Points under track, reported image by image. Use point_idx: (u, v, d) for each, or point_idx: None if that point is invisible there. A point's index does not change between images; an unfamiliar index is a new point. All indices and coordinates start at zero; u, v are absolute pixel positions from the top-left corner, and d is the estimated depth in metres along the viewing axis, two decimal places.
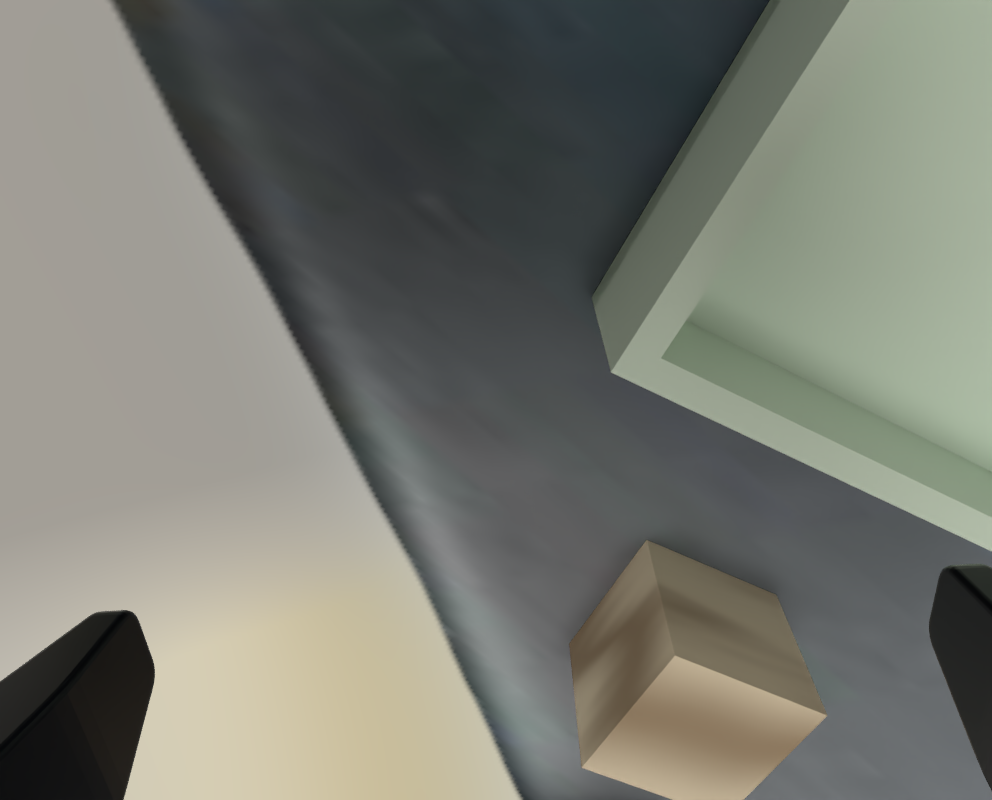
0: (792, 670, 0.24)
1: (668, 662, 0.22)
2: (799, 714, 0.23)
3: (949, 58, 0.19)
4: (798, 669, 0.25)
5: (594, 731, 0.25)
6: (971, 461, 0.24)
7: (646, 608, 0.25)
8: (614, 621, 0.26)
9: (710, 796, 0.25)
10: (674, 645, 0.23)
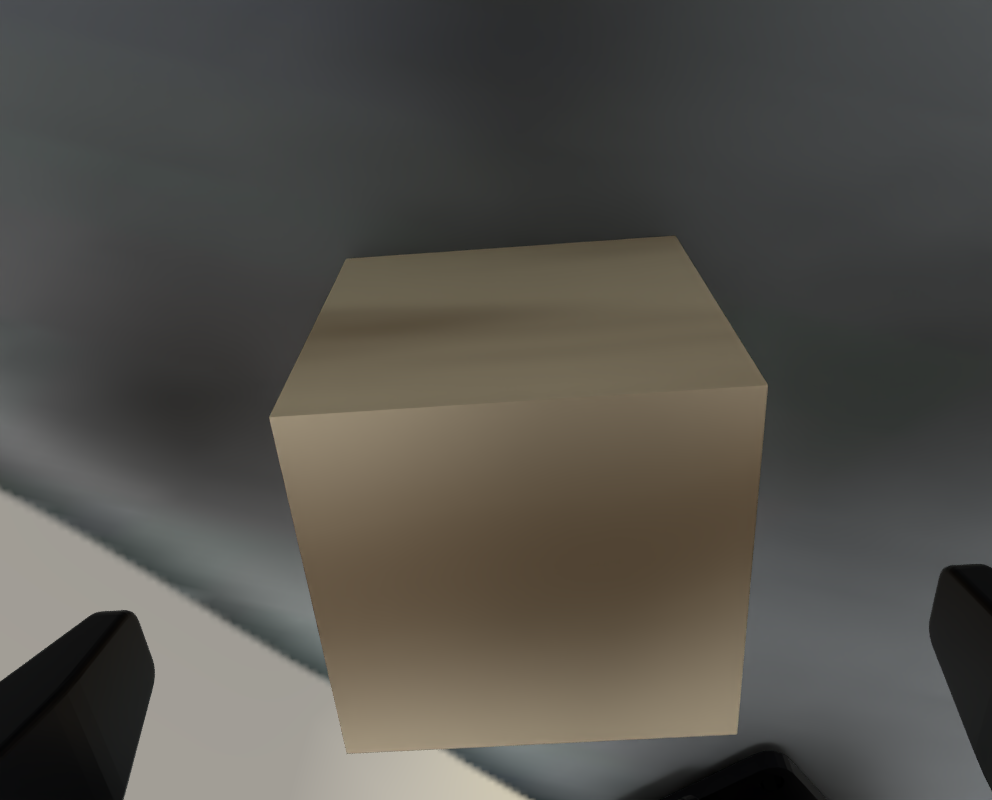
0: (673, 333, 0.10)
1: (275, 442, 0.09)
2: (694, 415, 0.09)
3: None
4: (695, 327, 0.10)
5: None
6: None
7: None
8: None
9: (662, 702, 0.10)
10: (284, 398, 0.09)
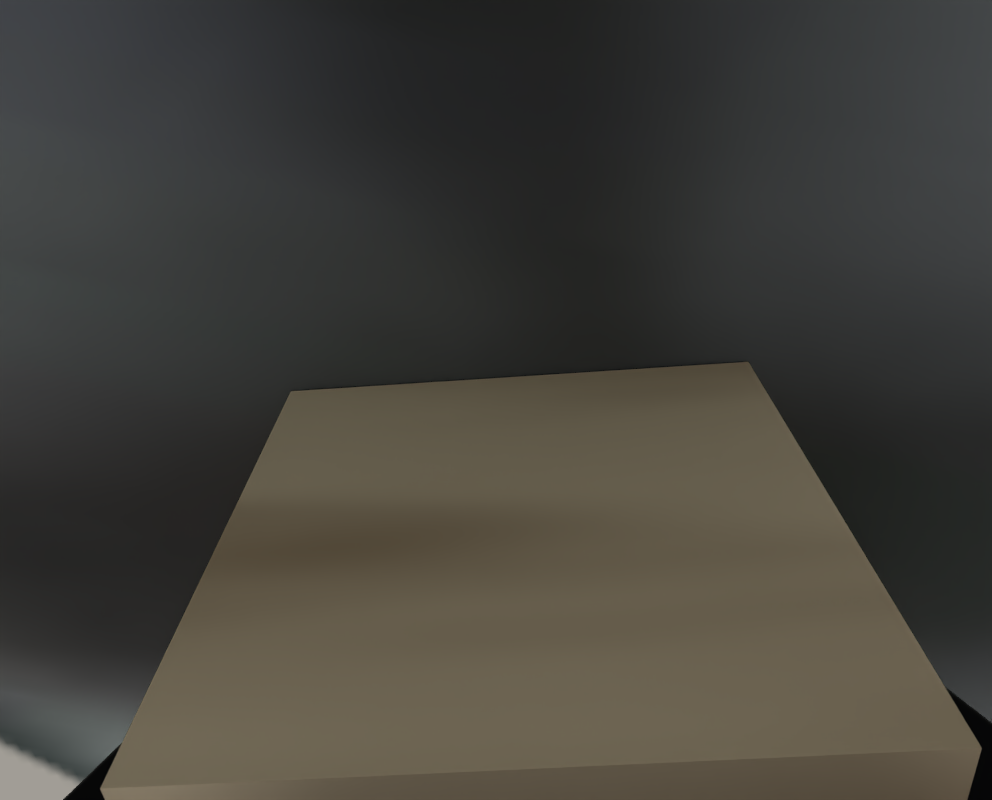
0: (784, 589, 0.06)
1: None
2: (845, 789, 0.05)
3: None
4: (817, 574, 0.06)
5: None
6: None
7: None
8: None
9: None
10: (137, 732, 0.05)
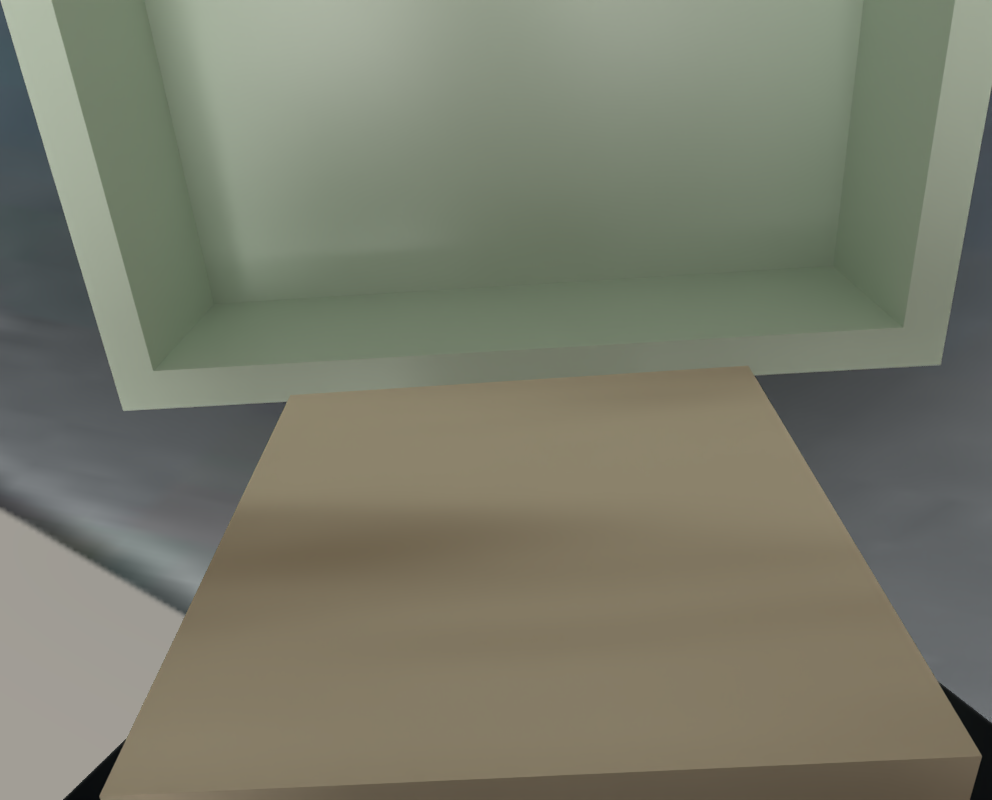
0: (783, 595, 0.06)
1: None
2: (844, 798, 0.05)
3: None
4: (817, 580, 0.06)
5: None
6: (709, 272, 0.19)
7: None
8: None
9: None
10: (137, 737, 0.05)
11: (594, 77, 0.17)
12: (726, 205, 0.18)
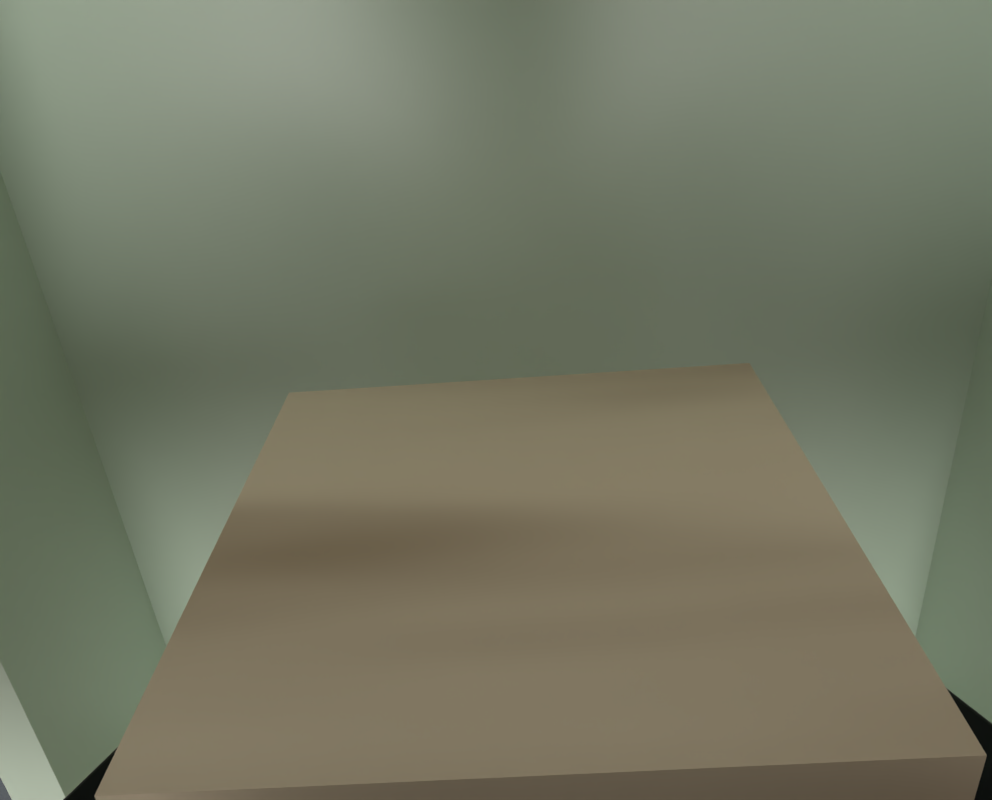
0: (786, 592, 0.06)
1: None
2: (848, 796, 0.05)
3: (280, 365, 0.13)
4: (821, 579, 0.06)
5: None
6: None
7: None
8: None
9: None
10: (132, 737, 0.05)
11: None
12: None
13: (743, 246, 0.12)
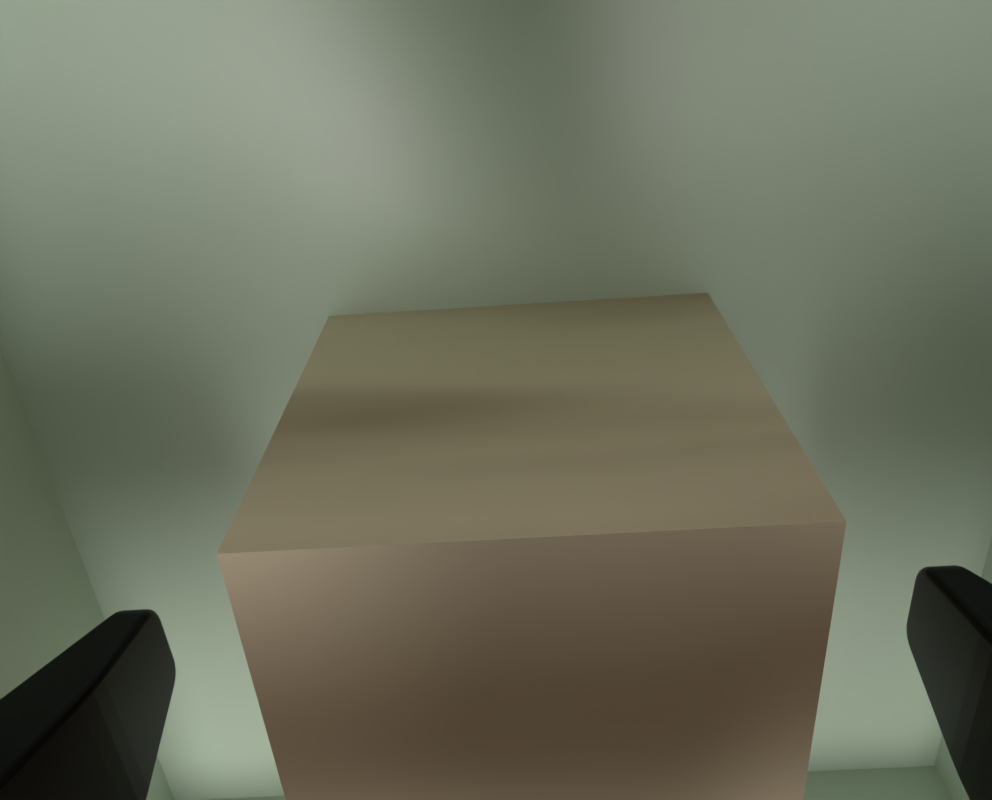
0: (718, 436, 0.08)
1: (226, 582, 0.07)
2: (751, 557, 0.07)
3: (258, 412, 0.12)
4: (745, 427, 0.08)
5: None
6: None
7: None
8: None
9: None
10: (238, 523, 0.07)
11: None
12: None
13: (770, 284, 0.11)
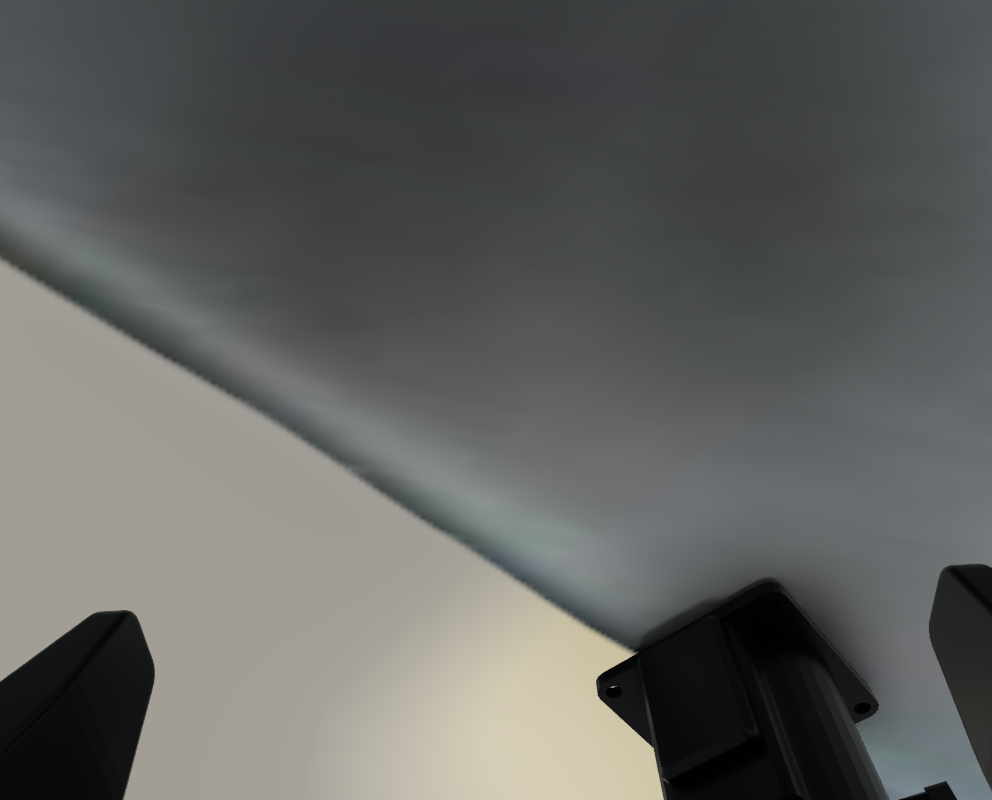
0: None
1: None
2: None
3: None
4: None
5: None
6: None
7: None
8: None
9: None
10: None
11: None
12: None
13: None
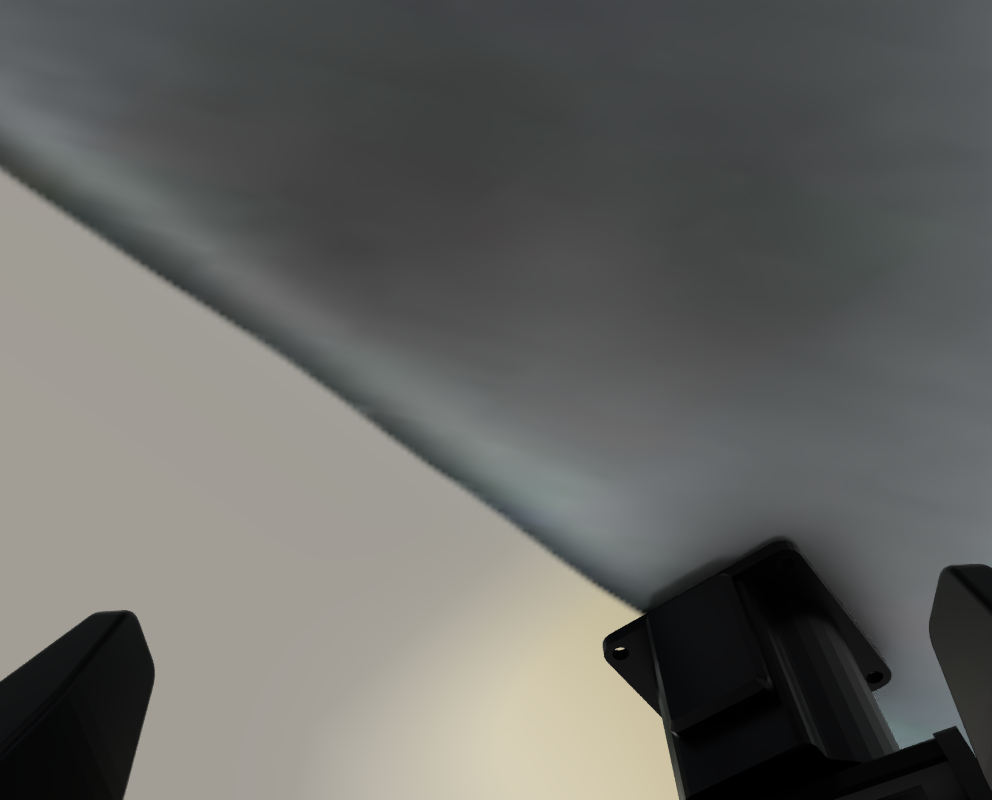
0: None
1: None
2: None
3: None
4: None
5: None
6: None
7: None
8: None
9: None
10: None
11: None
12: None
13: None
